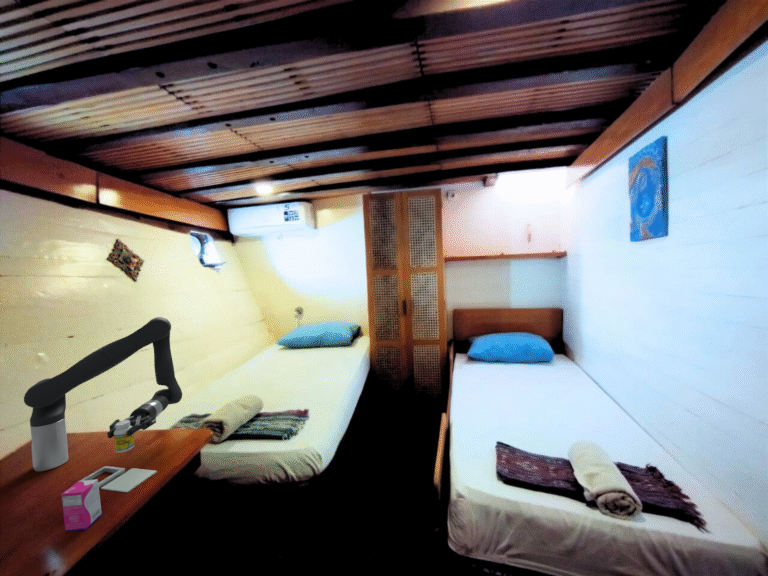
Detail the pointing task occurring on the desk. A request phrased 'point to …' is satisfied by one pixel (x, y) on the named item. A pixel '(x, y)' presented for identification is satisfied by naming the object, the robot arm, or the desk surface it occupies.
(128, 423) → the supplement bottle
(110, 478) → the square frame
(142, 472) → the pad
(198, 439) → the desk surface
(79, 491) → the supplement box
